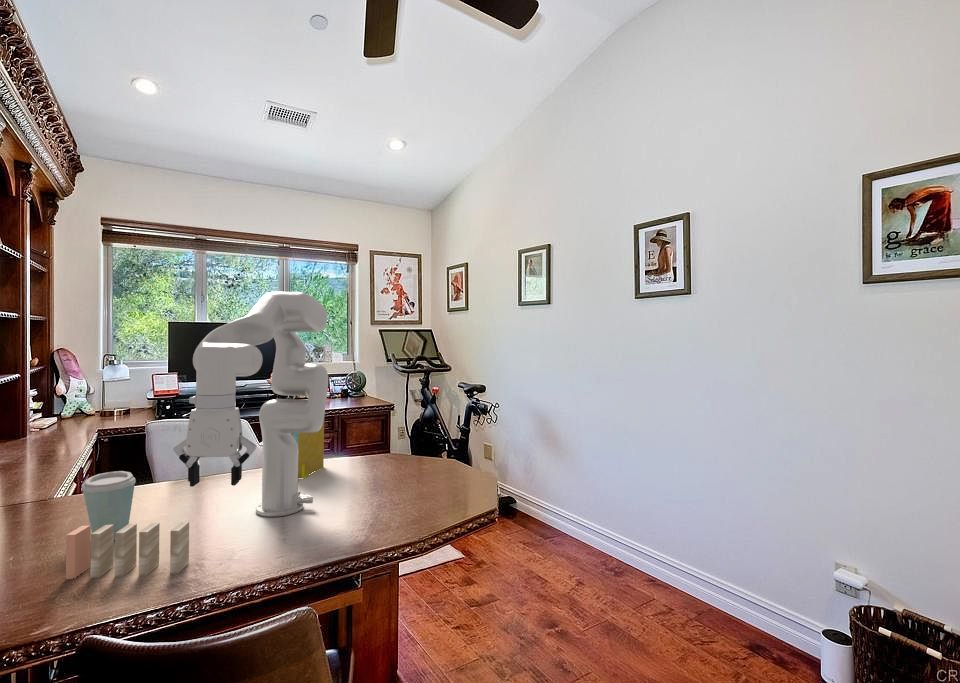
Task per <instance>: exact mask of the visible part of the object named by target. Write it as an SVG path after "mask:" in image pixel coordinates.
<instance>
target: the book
mask: <svg viewBox="0 0 960 683" xmlns="http://www.w3.org/2000/svg"><path fill="white" fill-rule="evenodd" d="M291 434H292V436H293V437H294V439H295V440H296V442H297V445H298V478H304V479H306V478H308V477H309V476H310V475H309V474H311V473H312V472H314V471H317V470H319V469H321V468H323V469H324V460H325V458H324V457H325V456H324V455H325V454H324V453H325V450H324V448H325V420H324V421H323V425H322V427H321V429H320V430H319V431H318V432H315V433H291ZM321 470H322V469H321ZM319 471H320V470H319ZM317 472H318V471H317ZM308 475H309V476H308ZM311 475H312V474H311ZM307 476H308V477H307ZM305 477H306V478H305Z"/></svg>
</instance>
